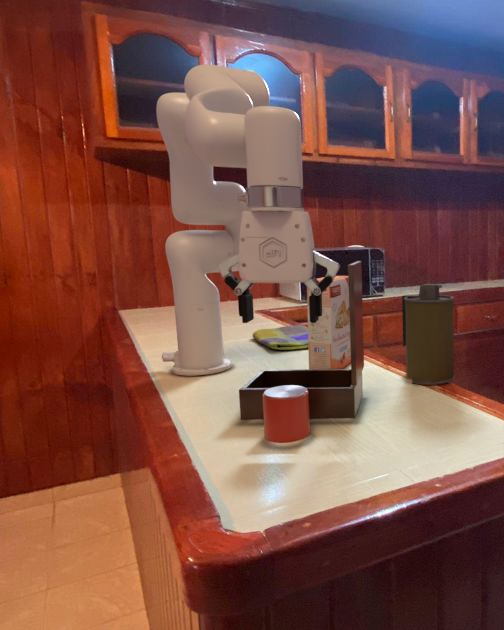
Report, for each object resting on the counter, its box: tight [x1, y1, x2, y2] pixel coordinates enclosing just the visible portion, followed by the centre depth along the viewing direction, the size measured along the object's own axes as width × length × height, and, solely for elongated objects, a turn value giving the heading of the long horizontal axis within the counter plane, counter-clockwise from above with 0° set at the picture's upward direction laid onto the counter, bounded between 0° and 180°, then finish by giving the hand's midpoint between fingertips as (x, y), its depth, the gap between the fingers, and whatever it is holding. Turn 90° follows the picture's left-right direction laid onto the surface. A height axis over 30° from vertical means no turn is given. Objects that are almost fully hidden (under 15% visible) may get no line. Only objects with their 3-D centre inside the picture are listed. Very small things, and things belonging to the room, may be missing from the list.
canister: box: [401, 283, 456, 386], centre depth 111 cm, size 11×10×20 cm
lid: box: [347, 260, 365, 386], centre depth 90 cm, size 19×13×1 cm
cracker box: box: [306, 275, 351, 370], centre depth 120 cm, size 14×6×21 cm, turn 168°
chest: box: [238, 368, 364, 421], centre depth 92 cm, size 19×13×6 cm
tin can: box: [263, 385, 311, 444], centre depth 79 cm, size 7×7×8 cm
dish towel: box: [252, 324, 309, 351], centre depth 152 cm, size 18×24×3 cm
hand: (281, 321), depth 77 cm, fingers open, 9 cm apart
